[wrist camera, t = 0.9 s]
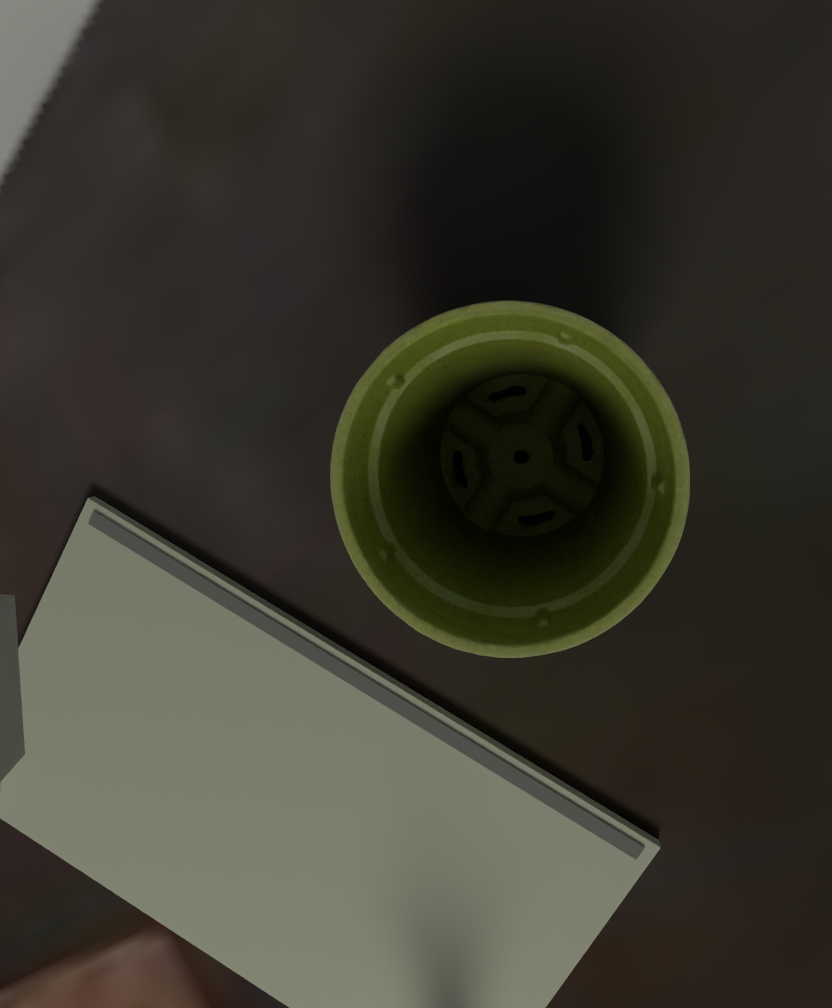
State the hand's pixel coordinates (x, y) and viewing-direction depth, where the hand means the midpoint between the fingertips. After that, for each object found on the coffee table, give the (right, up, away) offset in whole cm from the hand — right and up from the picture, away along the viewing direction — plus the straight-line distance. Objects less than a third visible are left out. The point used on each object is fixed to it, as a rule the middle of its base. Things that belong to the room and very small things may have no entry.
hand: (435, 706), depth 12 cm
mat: (-6, -9, +21) cm, 23 cm away
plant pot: (+4, +5, +17) cm, 18 cm away
